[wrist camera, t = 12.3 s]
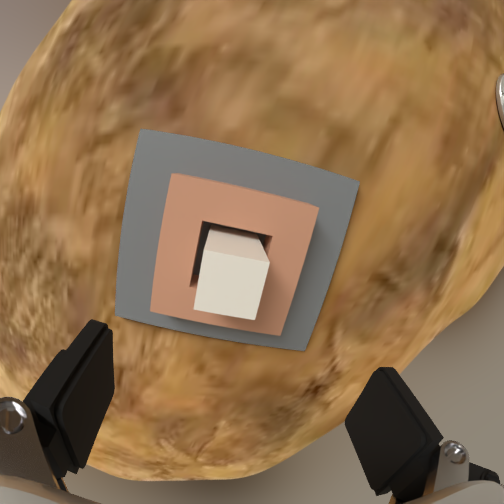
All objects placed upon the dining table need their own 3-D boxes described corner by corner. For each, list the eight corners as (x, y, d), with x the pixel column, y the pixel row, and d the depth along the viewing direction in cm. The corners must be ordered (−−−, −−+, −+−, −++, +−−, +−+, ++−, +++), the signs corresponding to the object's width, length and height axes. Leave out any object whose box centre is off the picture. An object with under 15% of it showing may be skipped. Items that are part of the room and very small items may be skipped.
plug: (256, 233, 25) (269, 262, 17) (246, 276, 26) (254, 320, 18) (211, 224, 24) (203, 249, 17) (202, 268, 25) (193, 309, 18)
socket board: (355, 181, 25) (375, 183, 21) (302, 345, 30) (311, 367, 26) (143, 130, 22) (129, 123, 19) (118, 310, 27) (104, 330, 23)
